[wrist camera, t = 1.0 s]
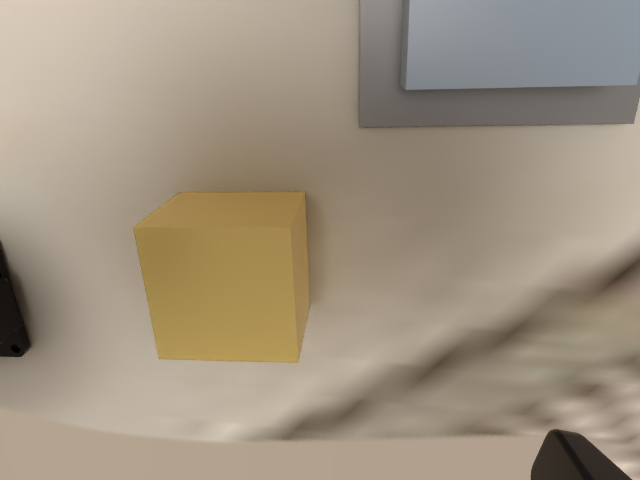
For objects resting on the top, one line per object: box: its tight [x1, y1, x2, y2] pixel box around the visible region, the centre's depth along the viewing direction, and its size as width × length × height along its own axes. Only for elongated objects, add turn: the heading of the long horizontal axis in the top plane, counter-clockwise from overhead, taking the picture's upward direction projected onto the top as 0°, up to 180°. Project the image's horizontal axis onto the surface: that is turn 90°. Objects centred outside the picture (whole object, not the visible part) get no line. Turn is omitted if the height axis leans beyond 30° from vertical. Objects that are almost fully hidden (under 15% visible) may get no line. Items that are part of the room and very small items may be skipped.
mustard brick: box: [133, 192, 310, 363], centre depth 19 cm, size 6×6×4 cm
